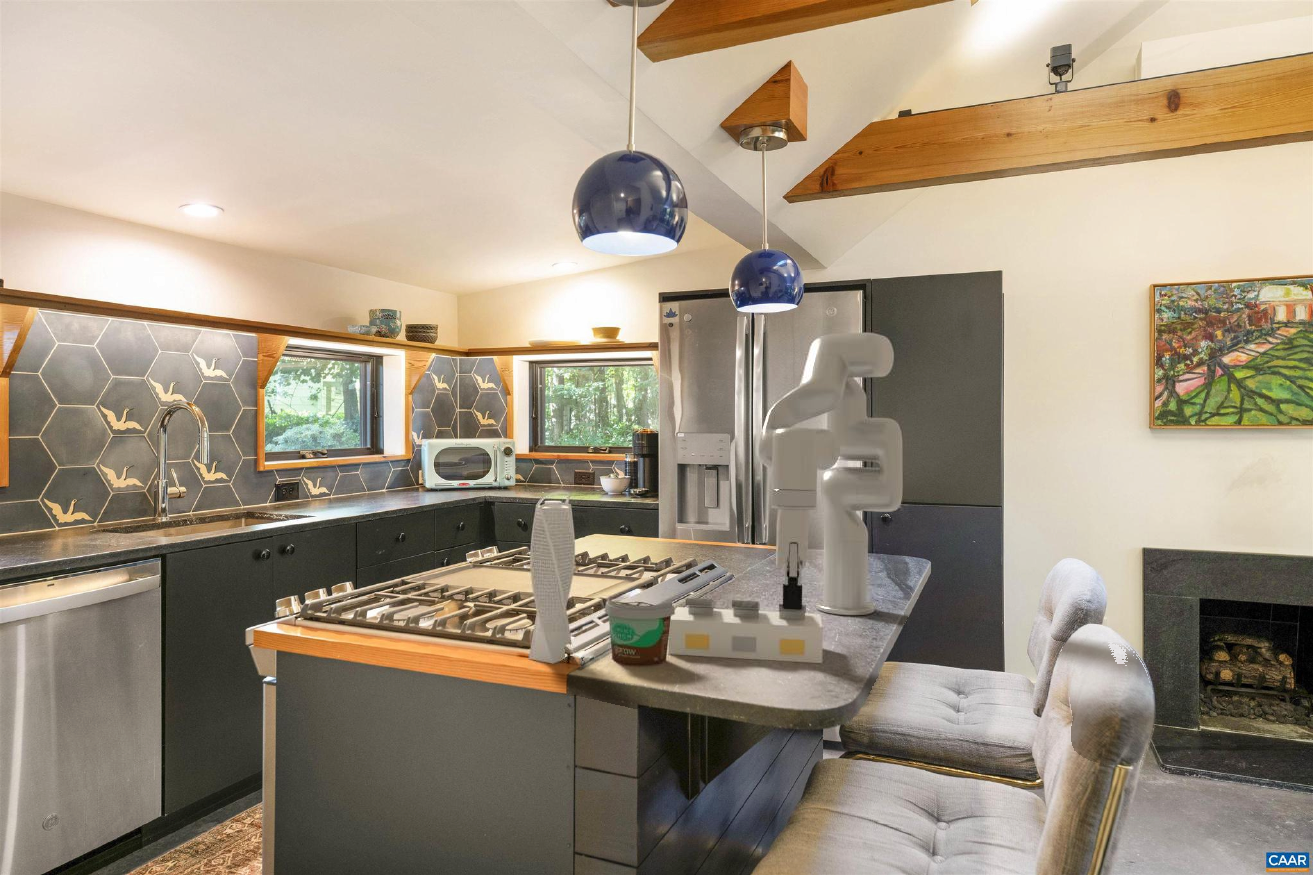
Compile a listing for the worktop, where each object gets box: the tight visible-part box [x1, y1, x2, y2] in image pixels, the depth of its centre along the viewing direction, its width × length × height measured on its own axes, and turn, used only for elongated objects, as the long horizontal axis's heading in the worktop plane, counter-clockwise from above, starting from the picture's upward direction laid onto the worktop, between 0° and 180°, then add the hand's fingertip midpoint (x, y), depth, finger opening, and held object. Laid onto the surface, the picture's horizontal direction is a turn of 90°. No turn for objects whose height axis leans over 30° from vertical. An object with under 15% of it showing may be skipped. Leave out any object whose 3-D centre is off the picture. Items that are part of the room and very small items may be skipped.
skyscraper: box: [528, 490, 576, 665], centre depth 128 cm, size 8×8×28 cm
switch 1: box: [685, 597, 717, 609], centre depth 135 cm, size 8×4×1 cm, turn 171°
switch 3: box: [778, 602, 807, 613], centre depth 132 cm, size 8×4×1 cm, turn 171°
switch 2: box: [731, 599, 761, 611], centre depth 133 cm, size 8×4×1 cm, turn 171°
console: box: [668, 606, 824, 664], centre depth 133 cm, size 10×26×7 cm, turn 80°
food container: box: [604, 596, 675, 667], centre depth 125 cm, size 12×6×10 cm, turn 70°
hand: (792, 608), depth 128 cm, fingers closed
